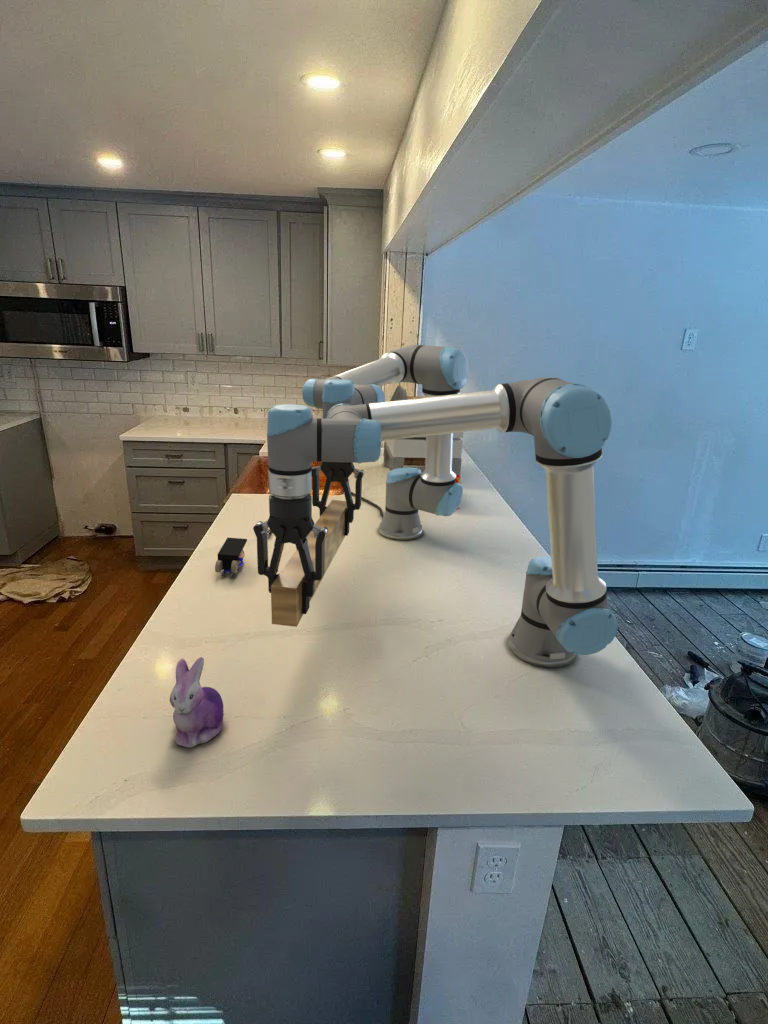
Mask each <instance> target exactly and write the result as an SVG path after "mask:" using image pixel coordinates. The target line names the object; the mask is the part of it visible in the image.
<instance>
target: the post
mask: <svg viewBox="0 0 768 1024" xmlns="http://www.w3.org/2000/svg"><path fill="white" fill-rule="evenodd" d="M326 507H327V508H326V509H325V511H324V512H323V513H322V515H321V516H320V515H319V517H318V519H317V520H316V522H314V525H317V526H319V527H321V528H323V527H327V528H328V532H327V535H326V537H325V573H324V575H323V577H322V579H321V580H319V581H318V580H315V592H314V594H313V596H312V597H310V602H311V601H312V599H313V598H314V595H315V593H316V591H317V590H318V587H319V586H320V584H321V582H322V580H323V579H324V577H325V575H326V573H327V571H328V569H329V567H330V565H331V563H332V561H333V559H334V558H335V556H336V554H337V552H338V550H339V549H340V547H341V545H342V543H343V542H344V539H345V538H346V536H345V511H346V509H347V504H346V500H341V499H340V500H339V499H331V500H330V502H329V503H328V505H327V506H326ZM307 541H308V548H309V552H310V556H311V560H312V564H313V567H314V571H315V544H316V539H315V538H314V533H313V531H311V532H310V533H309V534H308V536H307ZM278 574H279V575H278V577H277V578H276V580H275V581H274V582H273V584H272V585H271V593H270V601H271V602H270V605H271V608H270V610H271V625H276V626H287V627H294V628H295V627H298V625H299V623H300V621H301V619H302V618H303V615H304V614H302V582H303V580H304V579H305V575H304V571H303V567H302V564H301V560H300V556H299V552H298V550H297V549H296V550H295V551H294V552H293V554H292V556H291V557H290V559H288V561H287V562H286V564H285V565H284V567H283V568H282V569H281V571H280V572H279V573H278Z"/></svg>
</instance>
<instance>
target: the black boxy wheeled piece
mask: <svg viewBox="0 0 768 1024" xmlns="http://www.w3.org/2000/svg"><path fill="white" fill-rule="evenodd" d="M247 542H248V538H240V537H226V539H225V541H224V543H223V544H222V546H221V547H220V549H219V551H218V552H217V560H216V562H215V564H214V572H215V573H221V577H222V578H224V577H225V576H226V574H227V573H230V574H231V573H232V574H231V578H234V577H235V575H236V573H237V572H239V571H240V567H242V566H243V565H244V564H245V562H244V558H245V551H244V547H245V546H246V544H247Z"/></svg>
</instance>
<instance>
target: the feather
mask: <svg viewBox="0 0 768 1024" xmlns="http://www.w3.org/2000/svg"><path fill="white" fill-rule="evenodd" d="M267 534H268V536H267V539H269V538H270V536H271V534H273V532H272V531H271V530H270V529H268V532H267Z"/></svg>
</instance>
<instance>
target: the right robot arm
mask: <svg viewBox="0 0 768 1024" xmlns="http://www.w3.org/2000/svg"><path fill="white" fill-rule="evenodd" d="M425 397H426V396H425ZM607 402H608V401H606V399H605V398H604V397H603V396H602V395H601V394H599V393H598V392H597V391H595V390H593V389H592V388H590V387H589V386H587V385H584V384H581V383H573V382H571V381H567V380H565V379H561V378H558V377H549V376H547V377H537V378H532V379H531V378H530V379H525V380H520V381H519V380H518V381H513V382H505V383H498V384H496V386H495V387H494V388H493V389H490V390H482V391H481V390H480V391H473V392H465V393H464V392H463V393H459V394H453V395H444V396H435V397H426V398H417V399H408V400H398V401H390V400H389V401H385V402H380V403H371V404H362V405H353V406H352V405H350V404H345V403H342V404H337V405H335V406H333V407H332V408H331V409H330V410H329V411H328V413H327V415H326V418H325V419H323V418H320V417H319V418H318V417H314V415H313V413H312V411H313V410H312V409H311V407H310V406H308V405H304V404H296V403H283V404H282V403H281V404H275V405H273V406H272V407H270V409H269V410H267V423H266V424H267V425H266V426H267V427H266V428H267V429H266V440H267V441H266V442H267V443H266V444H267V468H268V469H267V471H268V473H267V474H268V476H267V477H268V492H269V493H270V494H269V495H268V508H269V509H268V512H269V513H268V514H269V517H268V519H267V520H266V521H261V520H259V521H257V523H256V524H254V526H253V527H252V529H253V532H254V535H255V538H256V556H257V557H256V558H257V573H258V575H259V576H265V577H267V580H268V581H267V584H268V592H269V594H271V585H272V584H273V582H274V581H275V580H276V578H277V577H278V575H279V574H280V573H278V572H279V567H280V563H281V559H282V555H283V551H284V546H285V544H288V543H289V544H292V545H295V548H296V550H298V552H299V556H300V560H301V564H302V567H303V571H304V575H305V579H304V580H303V582H302V614H303V615H307V613H308V612H309V609H310V603H311V601H310V597H312V596H313V597H314V595H315V593H316V591H315V580H318V581H319V580H321V579H322V580H323V578H324V577H323V575H324V573H325V537H326V535H327V532H328V528H327V527H323V528H321V527H319V526H317V525H315V521H314V520H313V516H312V515H313V513H312V512H313V510H312V509H313V508H312V506H313V505H312V495H311V493H312V467H313V466H312V463H313V462H315V463H316V462H318V463H322V462H351V463H353V464H354V463H355V464H364V463H365V464H366V463H375V462H377V461H379V459H380V457H381V452H382V442H386V441H387V440H396V439H405V438H414V437H423V436H432V435H441V434H449V433H458V432H463V433H466V432H475V431H484V430H493V429H495V430H497V431H498V432H500V433H502V434H504V433H524V434H528V435H531V436H533V442H534V443H533V444H534V455H535V456H534V457H535V462H536V464H538V465H539V466H540V467H542V468H543V469H544V475H545V476H544V477H545V490H546V501H547V514H548V515H547V516H548V531H549V544H550V555H543V556H536V557H534V558H532V559H531V560H529V562H528V564H527V568H526V571H525V580H524V581H525V582H524V587H523V596H522V604H521V609H520V610H521V611H520V615H519V617H518V619H517V621H516V623H515V625H514V627H513V628H512V630H511V631H510V635H509V639H508V646H509V649H510V651H511V652H512V654H514V655H515V656H516V657H517V658H519V659H520V660H522V661H524V662H526V663H529V664H530V665H533V666H538V667H543V668H562V667H565V666H567V665H569V664H571V663H572V662H573V661H574V660H575V658H576V656H591V655H594V654H598V653H599V652H601V651H603V650H605V649H606V648H607V646H608V645H610V644H611V643H612V642H613V641H614V639H615V638H616V636H617V633H618V629H619V624H618V620H617V618H616V616H615V613H614V612H613V611H612V610H610V609H609V606H608V592H607V591H608V589H607V588H608V587H607V583H606V582H605V581H604V579H602V578H601V577H599V573H598V572H599V571H598V570H599V569H598V568H599V567H598V545H597V522H596V521H597V520H596V498H595V476H594V475H595V473H594V472H595V471H594V470H595V469H594V467H595V465H596V464H597V462H598V461H599V460H601V459H602V457H603V446H604V445H605V442H606V441H607V440H608V439H609V438H610V435H611V432H612V429H613V413H612V410H611V407H610V405H609V404H608V403H607ZM269 530H270V531H272V534H273V535H274V537H275V540H274V543H273V551H272V554H271V559H270V563H269V545H268V533H269V532H268V531H269ZM311 531H313V533H314V538H315V539H316V544H315V571H314V567H313V564H312V560H311V556H310V552H309V548H308V541H307V536H308V534H309V533H310V532H311ZM267 532H268V533H267ZM325 574H326V573H325ZM324 576H325V575H324ZM322 577H323V578H322ZM322 580H321V581H322ZM314 592H315V593H314ZM313 594H314V595H313ZM313 597H312V598H313Z"/></svg>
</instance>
